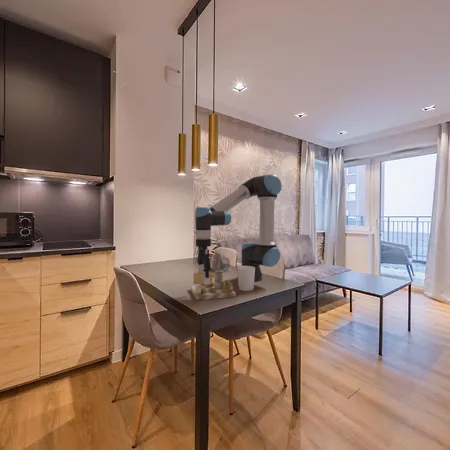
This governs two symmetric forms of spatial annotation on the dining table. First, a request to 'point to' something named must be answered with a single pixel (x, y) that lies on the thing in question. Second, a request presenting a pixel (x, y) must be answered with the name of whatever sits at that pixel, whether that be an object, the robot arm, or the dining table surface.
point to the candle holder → (246, 278)
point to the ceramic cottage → (220, 263)
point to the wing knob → (202, 280)
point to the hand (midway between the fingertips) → (203, 280)
